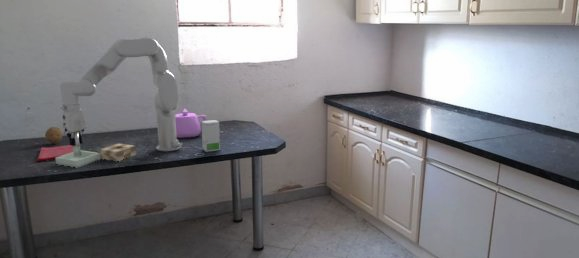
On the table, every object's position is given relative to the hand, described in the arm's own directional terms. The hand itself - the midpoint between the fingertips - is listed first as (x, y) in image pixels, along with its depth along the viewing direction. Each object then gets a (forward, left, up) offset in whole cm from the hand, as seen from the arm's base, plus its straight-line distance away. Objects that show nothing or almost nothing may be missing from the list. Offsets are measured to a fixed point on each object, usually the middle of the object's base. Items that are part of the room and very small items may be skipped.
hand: (76, 144), depth 212 cm
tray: (0, 0, -9) cm, 9 cm away
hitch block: (-12, -14, -9) cm, 21 cm away
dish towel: (+22, -6, -10) cm, 25 cm away
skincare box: (-49, -43, -10) cm, 66 cm away
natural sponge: (+40, -19, -10) cm, 45 cm away
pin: (0, 0, -6) cm, 6 cm away
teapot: (-18, -63, -10) cm, 66 cm away
